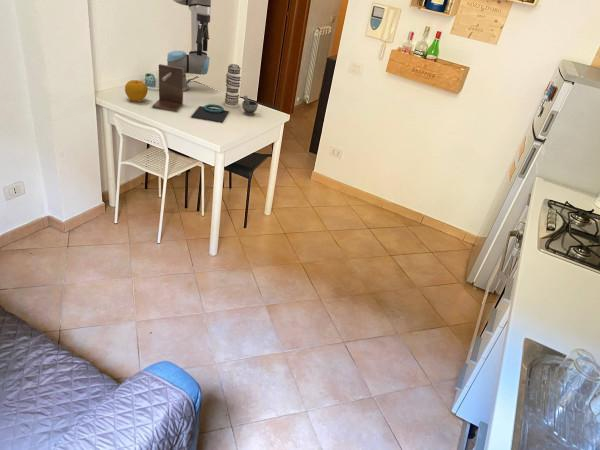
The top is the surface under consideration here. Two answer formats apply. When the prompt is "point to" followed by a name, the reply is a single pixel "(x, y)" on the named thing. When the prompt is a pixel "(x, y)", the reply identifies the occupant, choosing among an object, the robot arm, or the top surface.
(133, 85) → the apple
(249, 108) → the mortar and pestle
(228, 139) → the top surface
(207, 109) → the ring
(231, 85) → the decorative candle
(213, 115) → the mat
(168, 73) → the hook board
